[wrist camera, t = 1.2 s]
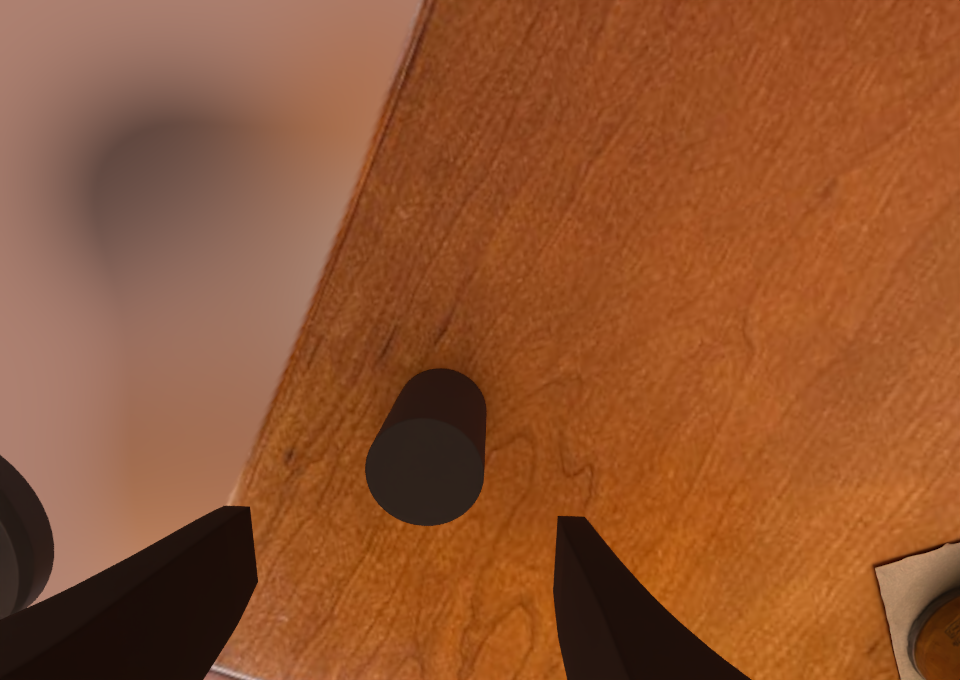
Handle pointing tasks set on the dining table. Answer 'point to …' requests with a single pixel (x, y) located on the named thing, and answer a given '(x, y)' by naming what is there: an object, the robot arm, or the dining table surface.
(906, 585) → the condiment
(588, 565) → the robot arm
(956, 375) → the dining table surface
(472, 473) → the stopper
